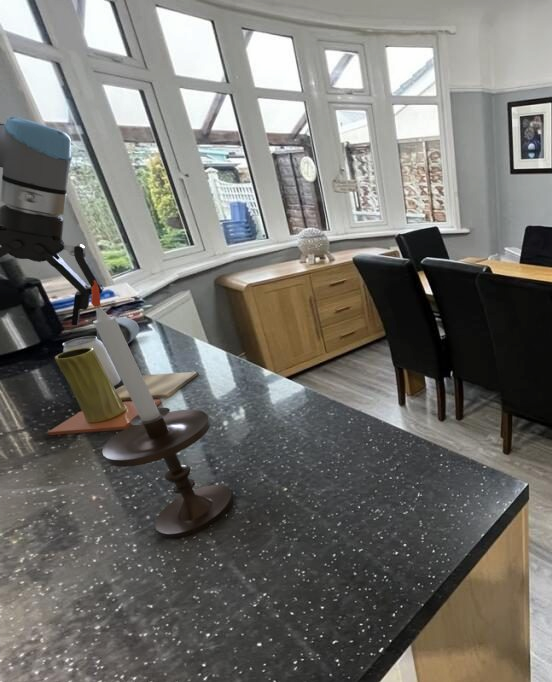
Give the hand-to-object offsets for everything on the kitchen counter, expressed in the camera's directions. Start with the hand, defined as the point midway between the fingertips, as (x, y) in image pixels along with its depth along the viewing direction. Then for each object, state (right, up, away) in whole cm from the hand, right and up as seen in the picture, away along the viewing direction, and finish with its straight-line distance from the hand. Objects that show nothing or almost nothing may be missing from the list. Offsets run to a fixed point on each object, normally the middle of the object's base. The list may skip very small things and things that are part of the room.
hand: (23, 318), depth 76 cm
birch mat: (+10, -15, +17) cm, 25 cm away
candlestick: (+49, -30, -18) cm, 60 cm away
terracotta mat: (+11, -20, +5) cm, 24 cm away
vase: (+11, -20, +5) cm, 23 cm away
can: (-3, -15, +18) cm, 24 cm away
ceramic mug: (-24, -5, +42) cm, 49 cm away
